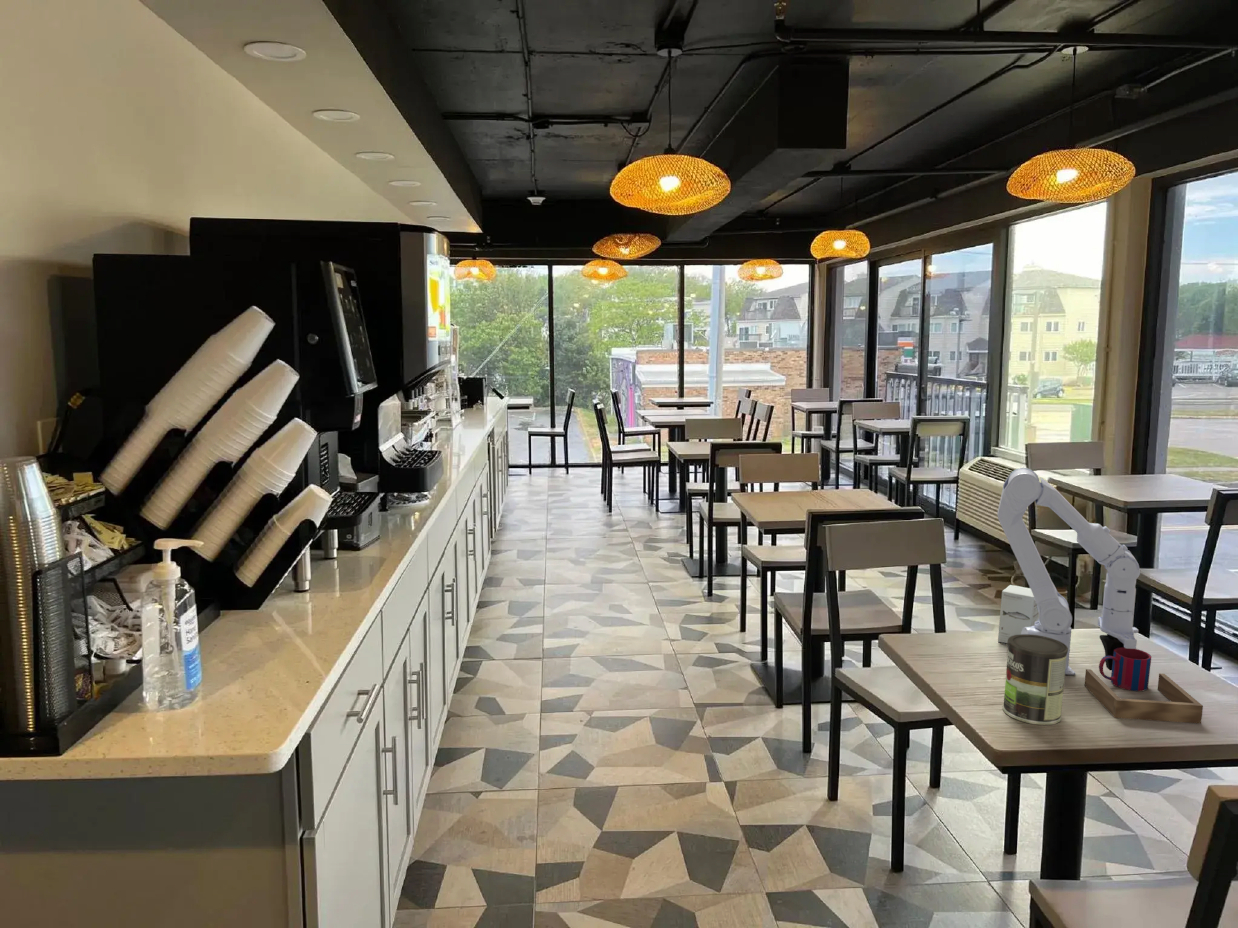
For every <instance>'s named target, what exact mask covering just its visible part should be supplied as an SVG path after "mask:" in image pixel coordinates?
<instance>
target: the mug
mask: <svg viewBox="0 0 1238 928" xmlns="http://www.w3.org/2000/svg"><path fill="white" fill-rule="evenodd" d="M1108 659H1113V664H1112V670H1111V674H1110V675H1111V676H1108V675H1106V674H1105V673H1104V665H1105V664H1106V662H1105V661H1106V660H1108ZM1151 664H1152V656H1151V654H1150V653H1149V652H1146V651H1144V650H1143V649H1138V648H1136V649H1128V648H1125V647H1121V648H1116V649H1114V654H1113V656H1105V655H1104V656H1103V657H1102V658H1101V659H1100V661H1099V664H1098V672H1099V673H1100V676H1102V677H1104V679H1106V680H1109V681H1110V683H1111V684H1112V685H1114V686H1115V687H1117V688H1119V689H1123V690H1127V691H1132V692H1144V691H1147V690H1148V689H1149V682H1150V673H1151V666H1152V665H1151Z"/></svg>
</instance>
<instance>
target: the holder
mask: <svg viewBox="0 0 1238 928" xmlns="http://www.w3.org/2000/svg"><path fill="white" fill-rule="evenodd" d="M1084 674H1085V675H1084V687H1085V688H1086V689H1088V691H1089V692H1090V693H1091V694H1092V695H1093V696H1094V697H1095V698H1096V700H1098V702H1100V704H1101V705H1102V706H1103V707H1104V708H1105V709H1106V710H1107V711H1108V712H1109V713H1110V714H1111V715H1112V717H1114V718H1115V719H1125V720H1126V719H1129V720H1142V721H1144V720H1145V721H1157V722H1172V723H1173V722H1174V723H1175V722H1176V723H1185V724H1186V723H1189V724H1191V723H1192V724H1202V717H1203V709H1204V706H1203V704H1201V703H1200V702H1199V701H1198V700H1197V699H1196V698H1195V697H1193V696H1192V695H1191V694H1190V693H1189V692H1188V691H1186V690H1184V689H1183V688H1182V687H1181V686H1180V685H1179V684H1178V683H1176V682H1175V681H1174V680H1173V679H1171V678H1170V677H1169V676H1168V675H1167V674H1165V673H1161V672H1160V673H1158V682H1157V691H1158V692H1160V693H1161V694H1162V696H1164V697H1165V698H1166V699H1167V700H1169V701H1165V700H1164V701H1162V700H1152V699H1150V700H1148V699H1133V698H1121V697H1119V695H1117V694H1116V693H1115V692H1114V691H1113V690H1112V689H1111V688H1110V687H1109V686H1108V685H1107V683H1105V682H1104V680H1102V679H1101V677H1099V675H1097V674H1096V673H1095V672H1094V671H1093V670H1092V669H1091V668H1090V669H1089V668H1087V669H1085V673H1084Z"/></svg>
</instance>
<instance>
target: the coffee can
mask: <svg viewBox="0 0 1238 928" xmlns="http://www.w3.org/2000/svg"><path fill="white" fill-rule="evenodd" d="M1067 652H1068V647H1067V646H1066V645H1065V644H1064V643H1062V642H1060V641H1058V640H1055V639H1052V638H1049V637H1044V636H1039V635H1030V634H1021V635H1014V636H1011V637H1009V638H1008V643H1007V655H1006V656H1007V657H1006V668H1005V669H1006V672H1005V683H1004V693H1003V706H1002V711H1003V712H1004V713H1005V714H1006V715H1008V716H1009V717H1010V718H1013V719H1014V720H1016V721H1019V722H1022V723H1026V724H1030V725H1037V726H1051V725H1055V724H1058V723H1059V722H1061V721H1062V706H1063V697H1064V688H1065V687H1064V686H1065V676H1066V674H1065V667H1066V656H1067Z"/></svg>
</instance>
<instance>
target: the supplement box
mask: <svg viewBox="0 0 1238 928" xmlns="http://www.w3.org/2000/svg"><path fill="white" fill-rule="evenodd" d="M1038 619H1039V612H1038V610H1037V604H1036V601H1035V598H1034V596H1033V593H1032V591H1031V588H1030V587H1025V586H1024V587H1023V586H1019V585H1013V584H1009V585H1008V586H1007V587H1006V588H1004V589H1003V590H1002V591H1001V599H1000V612H999V625H998V634H997V642H998V643H1003V644H1004V643H1005V644H1008V638H1009V637H1011V636H1014V635H1021V632H1022V629H1023V627H1031V626H1034V624H1035V622H1036V621H1037V620H1038Z"/></svg>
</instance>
